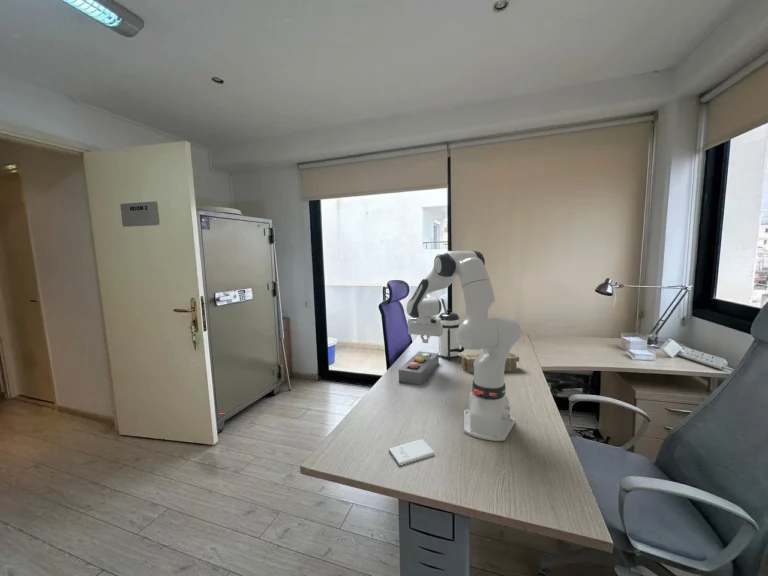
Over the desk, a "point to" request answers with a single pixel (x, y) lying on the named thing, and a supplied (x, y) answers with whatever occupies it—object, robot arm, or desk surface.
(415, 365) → the brick button
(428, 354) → the sage button
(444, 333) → the coffee press
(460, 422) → the desk surface
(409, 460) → the external hard drive
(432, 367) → the button panel
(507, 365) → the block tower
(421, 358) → the ochre button
